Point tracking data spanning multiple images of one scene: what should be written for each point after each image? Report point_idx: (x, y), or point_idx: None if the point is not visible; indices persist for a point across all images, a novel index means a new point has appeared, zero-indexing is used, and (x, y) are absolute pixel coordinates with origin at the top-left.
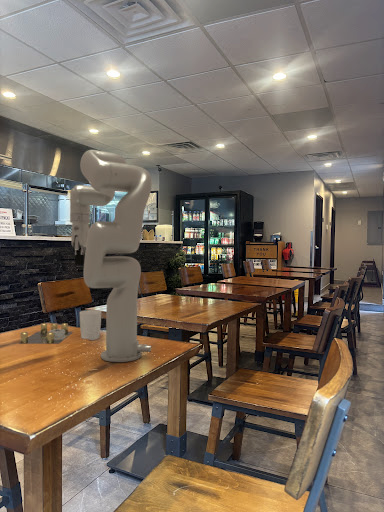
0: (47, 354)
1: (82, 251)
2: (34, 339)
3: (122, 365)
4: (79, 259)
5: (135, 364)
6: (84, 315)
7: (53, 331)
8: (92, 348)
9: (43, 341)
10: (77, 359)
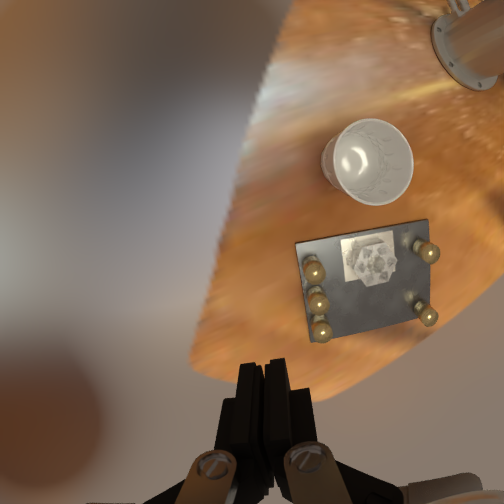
0: (482, 210)
1: (302, 485)
2: (395, 302)
3: None
4: (312, 418)
5: None
6: (409, 172)
7: (388, 268)
8: (435, 123)
9: (412, 269)
10: (497, 135)
